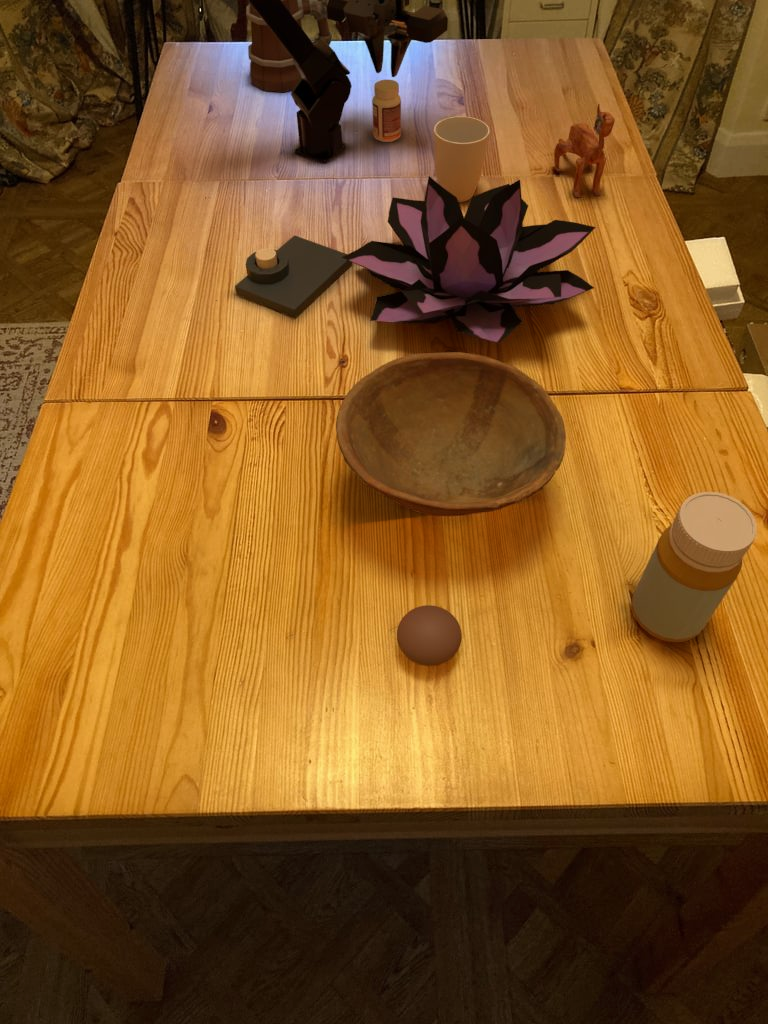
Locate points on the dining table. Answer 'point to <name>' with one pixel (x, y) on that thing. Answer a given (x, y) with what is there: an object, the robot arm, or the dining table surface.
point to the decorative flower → (470, 261)
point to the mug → (280, 47)
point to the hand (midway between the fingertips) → (386, 74)
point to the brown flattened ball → (429, 635)
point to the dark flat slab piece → (293, 276)
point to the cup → (460, 154)
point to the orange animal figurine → (587, 148)
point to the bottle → (693, 566)
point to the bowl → (451, 433)
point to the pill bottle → (386, 111)
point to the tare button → (266, 258)
